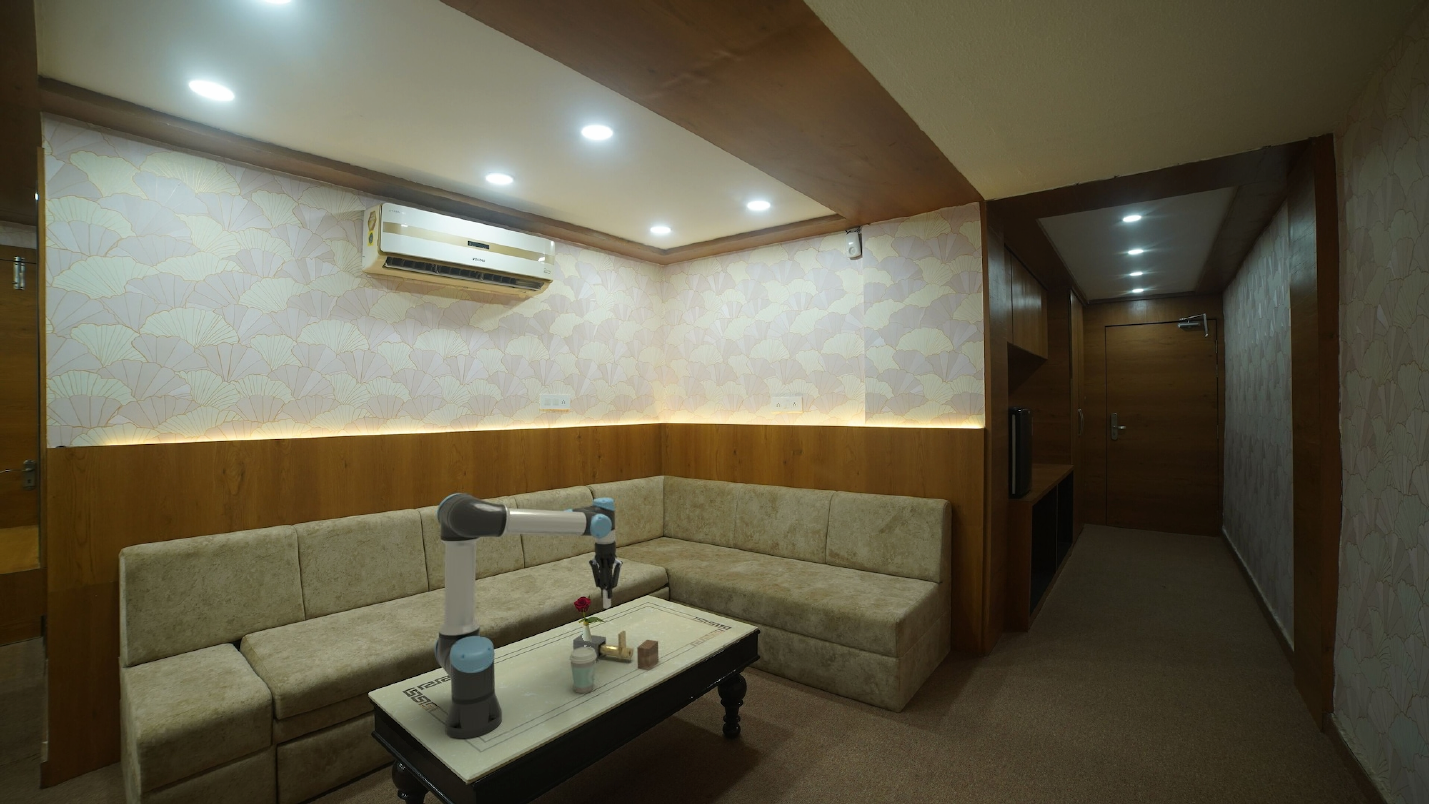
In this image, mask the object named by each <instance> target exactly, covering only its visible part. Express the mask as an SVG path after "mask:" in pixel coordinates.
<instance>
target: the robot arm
mask: <svg viewBox="0 0 1429 804" xmlns="http://www.w3.org/2000/svg"><path fill="white" fill-rule="evenodd" d="M615 511H616V509H615V501H614V499H613V498H611V497H598V498H594V499H593V501H592V505H590V506H582V507H577V508H569V509H565V510H547V509H546V510H544V509H533V508H532V509H529V508H512V507H510V508H509V507H508V506H506V504H504V503H503V504H502V503H494V502H490V501H485V500H484V499H480V498H478V497H474V496H473V495H472V494H468V493H461V492H458V493H453V494H450V495H448V496H447V497H445V498H444V499H443V500H442V501H441V502H440V503H439V505H438V507H437V511H436V518H437V522H438V523H439V526H440V530H439V531H440V533H439V534H440V536H439V537H440V541H441V542H442V543H443V544H444V546H445V563H444V564H445V566H444V572H445V573H444V575H445V576H444V619H443V621H444V622H443V624H442V625H441V626H440V627H439V629H438V637H437V639H436V642H435V644H434V645H435V646H434V655H435V659H436V662H437V664H438V665H439V666H440V667H441V668H442V670H444V672H445V673H446V674H447V675H448V676H449V678H450V685H451V686H450V687H451V692H450V693H451V702H450V705H449V709H448V713H447V716H446V719H445V733H446V734H447V735H448V736H449V737H451V738H454V739H473V738H477V737H480V736H483V735H486V734H487V733H490V732H492V731H494V730H495V729H497V727H499V725H500V724H501V722H502V720H503V710H502V707H501V705H500V702H499V700H498V697H497V695H496V680H495V677H496V675H495V655H496V653H495V649H494V644H493V641H492V640H491V639H489V638H488V637H485V636H480V635H481V633H480V632H481V631H480V630H481V626H480V625H481V624H480V623H479V622H478V621H477V620H476V619H475V618H476V617H475V615H476V566H477V565H476V563H477V562H476V559H477V558H476V554H477V549H476V548H477V543H478V541H479V540H480V539H481V538H501V537H503V536H504V535H505V534H508V535H546V536H547V535H549V536H550V535H551V536H583V537H593V539H594V543H593V544H594V546H593V547H594V553H595V555H594V557H593V558H592V559H590V560H589V561H588V564H589V565H590V567H591V570H592V571H591V572H592V575H593V580H594V584H595V587H596V588H599V589H600V597H601V598H602V600H603V601H602V605H603V606H602V607H603V609H609V608H610V607H611V606H612V598H613V590H614V589H615V588H616V587H618V584H619V577H620V573H621V568H622V565H623V564H624V562H623V561H622V560H621V561H620V560H619V559H618V557H617V554H616V551H617V543H616V512H615Z"/></svg>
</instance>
